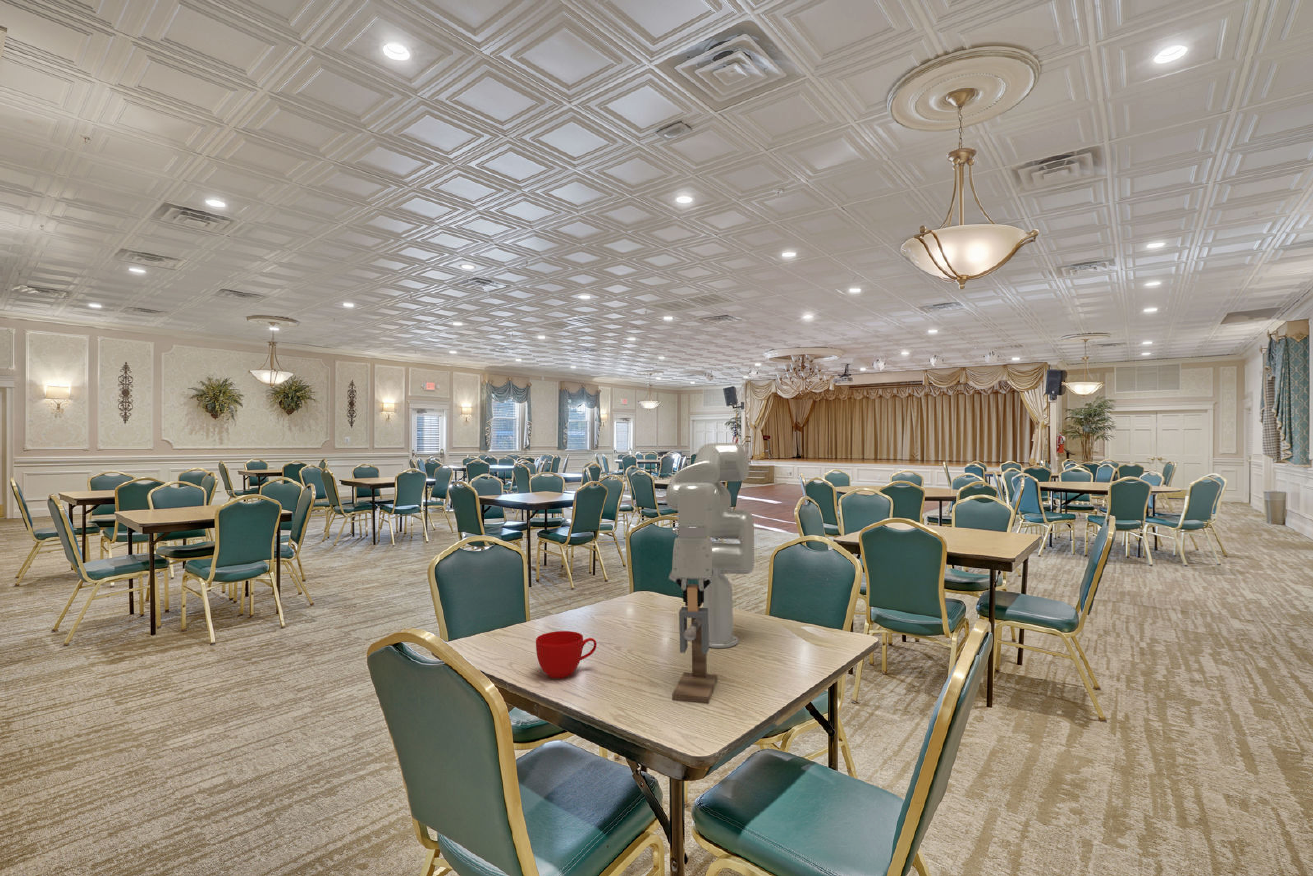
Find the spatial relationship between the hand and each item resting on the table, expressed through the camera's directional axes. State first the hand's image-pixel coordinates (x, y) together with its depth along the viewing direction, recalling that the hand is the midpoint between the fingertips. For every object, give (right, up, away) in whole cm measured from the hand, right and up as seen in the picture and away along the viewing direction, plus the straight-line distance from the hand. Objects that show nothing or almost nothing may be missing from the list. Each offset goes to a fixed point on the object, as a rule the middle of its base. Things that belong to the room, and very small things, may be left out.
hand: (693, 604), depth 150 cm
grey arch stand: (0, -12, 0) cm, 12 cm away
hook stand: (+1, -22, 0) cm, 22 cm away
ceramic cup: (-34, -23, +13) cm, 43 cm away
